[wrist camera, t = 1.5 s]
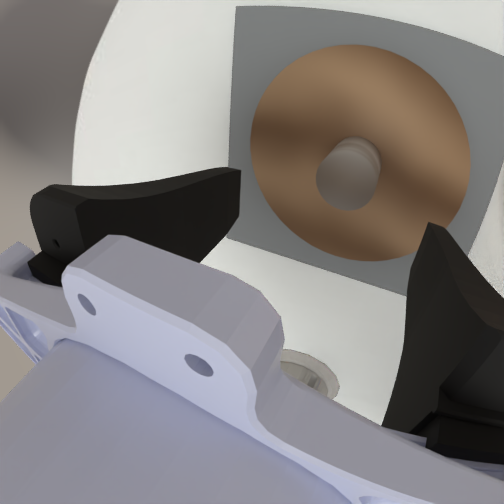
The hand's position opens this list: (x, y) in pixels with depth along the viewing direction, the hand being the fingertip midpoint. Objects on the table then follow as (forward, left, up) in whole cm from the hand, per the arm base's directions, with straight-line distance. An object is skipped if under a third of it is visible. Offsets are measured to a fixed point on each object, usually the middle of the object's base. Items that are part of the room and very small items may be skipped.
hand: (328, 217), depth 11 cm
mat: (0, 0, -10) cm, 10 cm away
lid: (0, 0, -9) cm, 9 cm away
